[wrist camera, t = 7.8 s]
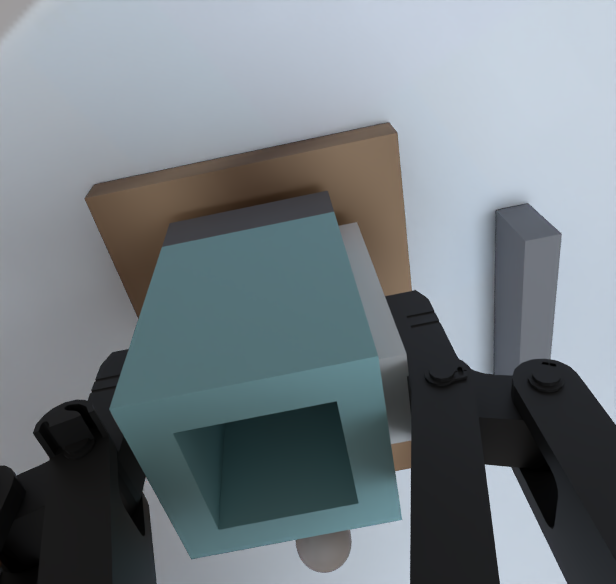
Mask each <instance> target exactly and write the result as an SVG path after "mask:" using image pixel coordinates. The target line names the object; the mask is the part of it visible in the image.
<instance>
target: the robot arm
mask: <svg viewBox="0 0 616 584" xmlns="http://www.w3.org/2000/svg"><path fill="white" fill-rule="evenodd" d="M339 229H340V232H341V236H342V239H343V242H344V246H345V249H346V252H347V255H348V259H349V262H350V265H351V269H352V272H353V275H354V278H355V282H356V285H357V288H358V291H359V295H360V298H361V301H362V305H363V308H364V311H365V314H366V318H367V321H368V324H369V327H370V331H371V334H372V337H373V341H374V344H375V347H376V350H377V354H378V358H379V365H380V372H381V378H382V385H383V392H384V399H385V406H386V413H387V420H388V427H389V434H390V440H391V444H395V443H400V442H405V441H411V545H410V584H500V581H499V573H498V565H497V558H496V550H495V542H494V534H493V526H492V519H491V511H490V503H489V495H488V487H487V479H486V472H485V464H487V465H497V466H507V467H511V468H512V470H513V472H514V474H515V476H516V478H517V480H518V482H519V484H520V486H521V488H522V490H523V493H524V495H525V497H526V499H527V501H528V503H529V505H530V507H531V509H532V511H533V513H534V515H535V517H536V520H537V522H538V524H539V526H540V528H541V530H542V532H543V534H544V536H545V538H546V540H547V542H548V544H549V547H550V549H551V551H552V553H553V555H554V557H555V559H556V561H557V563H558V565H559V567H560V569H561V571H562V574H563V576H564V578H565V580H566V582H567V584H616V425H615V423H614V422H613V421H612V419H611V418H610V417H609V415H608V414H607V413H606V411H605V410H604V409H603V407H602V406H601V405H600V403H599V402H598V401H597V399H596V398H595V397H594V395H593V394H592V392H591V391H590V390H589V388H588V387H587V386H586V384H585V383H584V382H583V380H582V379H581V378H580V376H579V375H578V374H577V373H576V372H575V371H574V370H573V369H572V368H571V367H570V366H568V365H565V364H563V363H561V362H559V361H556V360H550V359H531V360H528V361H526V362H523V363H521V364H520V365H519V366H517V367H516V368H515V369H514V372H513V375H492V374H484V373H480V372H477V371H474V370H472V369H470V367H469V366H468V365H467V364H466V363H465V362H463V361H462V360H459V359H458V357H457V355H456V353H455V351H454V349H453V347H452V345H451V343H450V341H449V339H448V337H447V335H446V333H445V331H444V329H443V327H442V325H441V323H439V319H438V317H437V315H436V313H434V309H433V307H432V305H431V303H430V301H429V299H428V298H426V297H425V296H423V295H422V294H421V293H419V292H418V291H416V290H414V291H409V292H404V293H399V294H394V295H389V296H385V295H384V293H383V290H382V287H381V285H380V282H379V279H378V277H377V274H376V271H375V269H374V266H373V264H372V261H371V258H370V256H369V253H368V250H367V248H366V245H365V242H364V240H363V237H362V234H361V232H360V229H359V226H358V224H357V222H355V223H350V224H345V225H340V226H339ZM128 350H129V349H126V350H121V351H116V352H112V353H111V354H110V356H109V357H108V358H107V359H106V360H105V361H104V362H103V364H102V365H101V366H100V369H99V371H98V374H97V377H96V379H95V380H96V382H94V385H93V387H92V390H91V391H92V393H90V396H89V398H88V401H86V400H73V401H69V402H65V403H63V404H61V405H59V406H57V407H55V408H53V409H52V410H50V411H49V412H48V413H46V414H45V415H44V416H43V417H42V418H41V419H40V421H39V422H38V423H37V424H36V426H35V429H34V431H33V434H34V436H35V437H36V439H37V440H38V442H39V443H40V444H41V446H42V447H43V449H44V450H45V452H46V453H47V455H48V456H49V458H50V460H49V461H47V462H45V463H43V464H41V465H39V466H37V467H35V468H32V469H30V470H28V471H26V472H24V473H21V474H19V475H17V476H16V474H15V473H14V472H13V470H12V469H11V468H9V467H7V466H0V584H157V583H156V573H155V563H154V553H153V543H152V533H151V523H150V513H149V505H148V502H147V499H146V497H145V496H144V494H143V492H142V491H143V486H144V481H145V477H146V475H145V474H144V472H143V470H142V468H141V466H140V464H139V463H138V461H137V459H136V457H135V455H134V454H133V452H132V450H131V448H130V446H129V444H128V443H127V441H126V439H125V437H124V435H123V433H122V432H121V430H120V428H119V426H118V424H117V423H116V421H115V419H114V417H113V415H112V413H111V412H110V410H109V408H110V405H111V402H112V399H113V396H114V393H115V390H116V387H117V384H118V380H119V377H120V374H121V371H122V368H123V365H124V362H125V359H126V356H127V353H128Z"/></svg>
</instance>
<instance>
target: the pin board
mask: <svg viewBox="0 0 616 584" xmlns="http://www.w3.org/2000/svg"><path fill="white" fill-rule="evenodd" d="M323 191H328V193H329V196H330V200H331V203H332V206H333V210H334V213H335V216H336V219H337V223H338V226H340V225H345V224H350V223H355V222H357V224H358V226H359V229H360V232H361V234H362V237H363V240H364V242H365V245H366V248H367V250H368V253H369V256H370V258H371V261H372V264H373V266H374V269H375V271H376V274H377V277H378V279H379V282H380V285H381V287H382V290H383V293H384V295H385V296H389V295H394V294H399V293H404V292H409V291H412V288H411V277H410V266H409V255H408V244H407V233H406V222H405V211H404V200H403V189H402V178H401V167H400V156H399V145H398V134H397V132H396V130H395V129H394V128H393V127H392V125H391V124H390V123H384V124H379V125H374V126H370V127H365V128H360V129H355V130H351V131H346V132H341V133H337V134H332V135H327V136H322V137H318V138H313V139H308V140H303V141H299V142H294V143H289V144H284V145H280V146H275V147H270V148H265V149H261V150H256V151H251V152H246V153H242V154H237V155H232V156H227V157H223V158H218V159H213V160H209V161H204V162H199V163H194V164H190V165H185V166H180V167H175V168H171V169H166V170H161V171H156V172H152V173H147V174H142V175H137V176H133V177H128V178H123V179H118V180H114V181H109V182H104V183H99V184H95V185H94V186H93V187H92V189H91V190H90V191H89V193H88V194H87V196H86V197H85V201H86V203H87V205H88V207H89V210H90V212H91V214H92V216H93V219H94V221H95V223H96V225H97V227H98V230H99V232H100V234H101V236H102V239H103V241H104V243H105V245H106V248H107V250H108V252H109V254H110V256H111V259H112V261H113V263H114V265H115V268H116V270H117V272H118V274H119V276H120V279H121V281H122V283H123V285H124V288H125V290H126V292H127V294H128V297H129V299H130V301H131V303H132V305H133V308H134V310H135V312H136V314H137V317H138V319H139V316H140V313H141V310H142V307H143V304H144V300H145V297H146V294H147V291H148V288H149V285H150V282H151V279H152V276H153V273H154V270H155V267H156V264H157V260H158V257H159V254H160V251H161V248H162V245H163V242H164V239H165V236H166V233H167V230H168V227H169V224H170V223H173V222H178V221H183V220H188V219H193V218H197V217H202V216H207V215H212V214H217V213H222V212H226V211H231V210H236V209H241V208H246V207H251V206H255V205H260V204H265V203H270V202H275V201H280V200H284V199H289V198H294V197H299V196H304V195H309V194H313V193H318V192H323ZM391 447H392V454H393V461H394V468H395V471H398V470H403V469H409V468H411V441H405V442H400V443H395V444H391ZM296 548H297V552H298V554H299V557H300V558H301V560H302V561H303V563H304V564H305V565H306V566H307V567H309V568H310V569H312V570H314V571H317V572H322V573H326V572H331V571H334V570H336V569H338V568H339V567H340V566H342V565H343V564H344V562H345V561H346V560H347V558H348V556H349V553H350V550H351V534H350V530H345V531H339V532H334V533H329V534H323V535H318V536H313V537H307V538H302V539H297V540H296Z"/></svg>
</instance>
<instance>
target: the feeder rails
mask: <svg viewBox="0 0 616 584" xmlns="http://www.w3.org/2000/svg"><path fill="white" fill-rule="evenodd" d="M561 235H562V234H561V233H560V232H559V231H558V230H557V229H556V228H555V227H554V226H552V225H551V224H550V223H549V222H548V221H547V220H546V219H545V218H544V217H543V216H541V215H540V214H539V213H538V212H537V211H536V210H535V209H534V208H533V207H532V206H530V205H529V204H524V205H519V206H514V207H509V208H504V209H500V210H496V251H495V328H494V375H513V372H514V369H515V368H516V367H517V366H519V365H520V364H521V363H523V362H526V361H528V360H531V359H550V357H551V346H552V335H553V324H554V313H555V302H556V291H557V280H558V269H559V258H560V247H561Z"/></svg>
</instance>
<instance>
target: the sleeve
mask: <svg viewBox="0 0 616 584" xmlns="http://www.w3.org/2000/svg"><path fill="white" fill-rule="evenodd" d="M109 410H110V412H111V413H112V415H113V417H114V419H115V421H116V423H117V424H118V426H119V428H120V430H121V432H122V433H123V435H124V437H125V439H126V441H127V443H128V444H129V446H130V448H131V450H132V452H133V454H134V455H135V457H136V459H137V461H138V463H139V464H140V466H141V468H142V470H143V472H144V474H145V475H146V477H147V479H148V481H149V483H150V485H151V486H152V488H153V490H154V492H155V494H156V495H157V497H158V499H159V501H160V503H161V505H162V506H163V508H164V510H165V512H166V514H167V516H168V517H169V519H170V521H171V523H172V525H173V527H174V528H175V530H176V532H177V534H178V536H179V537H180V539H181V541H182V543H183V545H184V547H185V548H186V550H187V552H188V554H189V556H190V558H191V559H195V558H201V557H206V556H211V555H217V554H222V553H227V552H233V551H238V550H243V549H249V548H254V547H259V546H265V545H270V544H275V543H281V542H286V541H291V540H297V539H302V538H307V537H313V536H318V535H323V534H329V533H334V532H339V531H345V530H350V529H355V528H361V527H366V526H371V525H377V524H382V523H387V522H393V521H398V520H402V516H401V509H400V502H399V495H398V489H397V482H396V475H395V468H394V461H393V454H392V447H391V440H390V434H389V427H388V420H387V413H386V406H385V399H384V392H383V385H382V378H381V372H380V365H379V358H378V354H377V350H376V347H375V344H374V341H373V337H372V334H371V331H370V327H369V324H368V321H367V318H366V314H365V311H364V308H363V305H362V301H361V298H360V295H359V291H358V288H357V285H356V282H355V278H354V275H353V272H352V269H351V265H350V262H349V259H348V255H347V252H346V249H345V246H344V242H343V239H342V236H341V232H340V229H339V226H338V223H337V219H336V216H335V213H334V210H333V206H332V203H331V200H330V196H329V193H328V191H323V192H318V193H313V194H309V195H304V196H299V197H294V198H289V199H284V200H280V201H275V202H270V203H265V204H260V205H255V206H251V207H246V208H241V209H236V210H231V211H226V212H222V213H217V214H212V215H207V216H202V217H197V218H193V219H188V220H183V221H178V222H173V223H170V224H169V227H168V230H167V233H166V236H165V239H164V242H163V245H162V248H161V251H160V254H159V257H158V260H157V264H156V267H155V270H154V273H153V276H152V279H151V282H150V285H149V288H148V291H147V294H146V297H145V300H144V304H143V307H142V310H141V313H140V316H139V319H138V322H137V325H136V328H135V331H134V334H133V337H132V340H131V344H130V347H129V350H128V353H127V356H126V359H125V362H124V365H123V368H122V371H121V374H120V377H119V380H118V384H117V387H116V390H115V393H114V396H113V399H112V402H111V405H110V408H109Z"/></svg>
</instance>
